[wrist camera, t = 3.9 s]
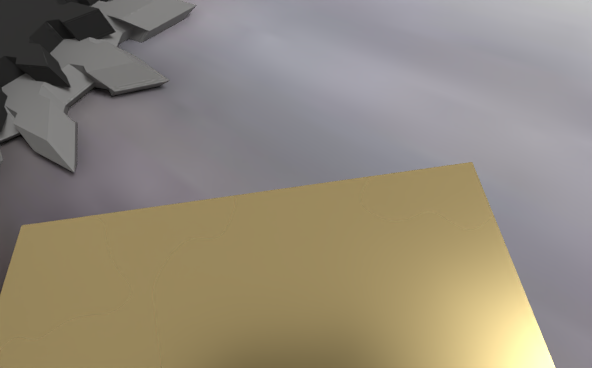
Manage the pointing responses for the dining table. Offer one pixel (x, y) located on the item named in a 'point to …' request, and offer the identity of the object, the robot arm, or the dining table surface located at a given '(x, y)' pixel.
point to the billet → (277, 282)
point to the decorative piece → (71, 63)
